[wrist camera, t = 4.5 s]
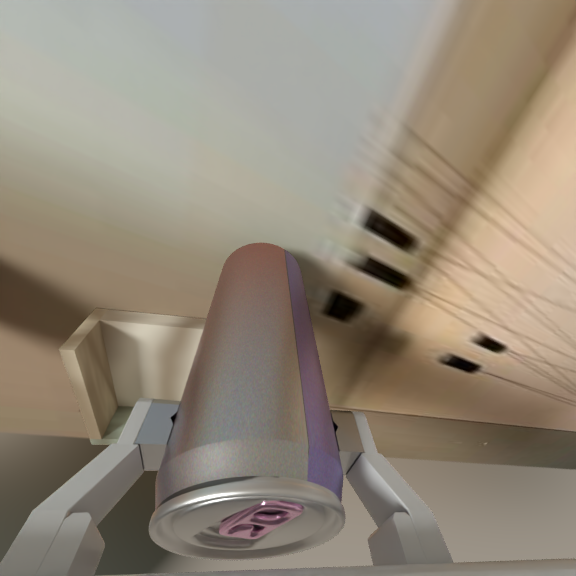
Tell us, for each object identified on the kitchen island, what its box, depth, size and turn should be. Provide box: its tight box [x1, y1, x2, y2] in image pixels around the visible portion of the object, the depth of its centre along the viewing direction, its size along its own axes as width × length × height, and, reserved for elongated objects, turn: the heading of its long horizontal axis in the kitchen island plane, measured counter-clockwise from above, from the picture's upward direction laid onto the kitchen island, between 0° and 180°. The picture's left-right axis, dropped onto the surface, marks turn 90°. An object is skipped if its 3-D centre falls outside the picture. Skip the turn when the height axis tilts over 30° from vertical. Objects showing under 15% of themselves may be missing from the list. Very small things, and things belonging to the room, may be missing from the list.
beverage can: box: [149, 243, 345, 560], centre depth 14 cm, size 6×6×15 cm
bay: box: [59, 308, 206, 445], centre depth 25 cm, size 14×13×5 cm
